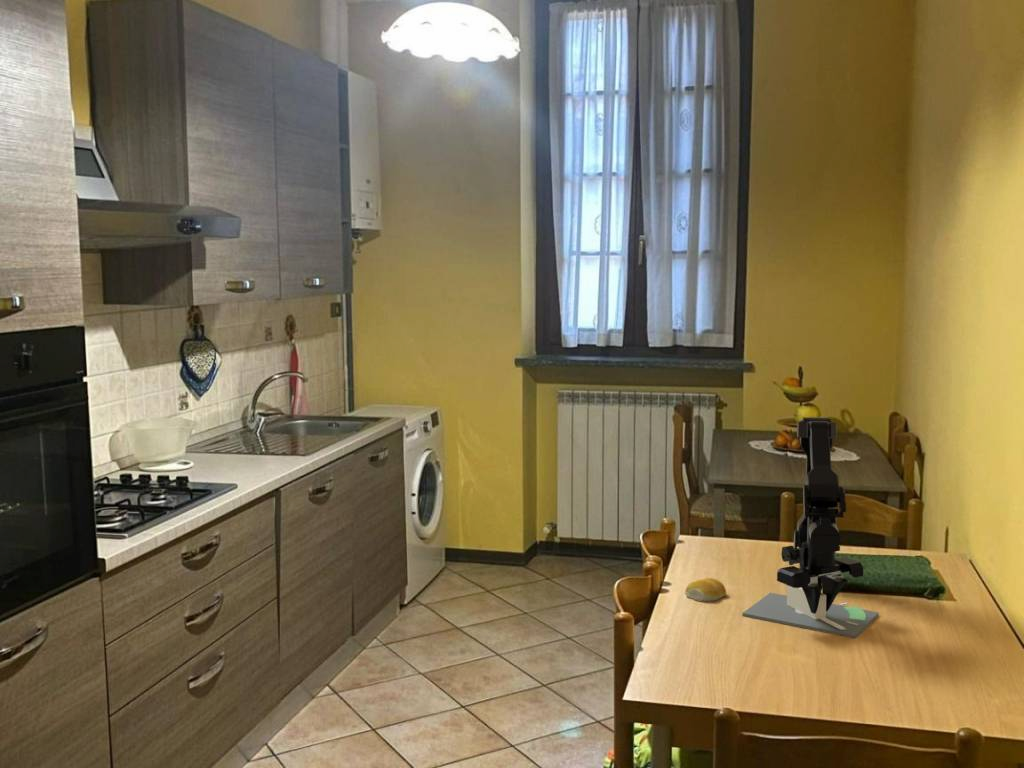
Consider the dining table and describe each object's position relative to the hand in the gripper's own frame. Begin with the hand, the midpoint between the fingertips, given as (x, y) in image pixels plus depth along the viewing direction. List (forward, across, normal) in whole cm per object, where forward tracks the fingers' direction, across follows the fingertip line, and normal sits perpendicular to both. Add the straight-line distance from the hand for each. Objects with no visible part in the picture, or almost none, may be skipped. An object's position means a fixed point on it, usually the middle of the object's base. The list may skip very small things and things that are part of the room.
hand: (819, 611), depth 212 cm
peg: (+1, 0, -1) cm, 2 cm away
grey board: (+2, -2, -4) cm, 5 cm away
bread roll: (+3, +11, -24) cm, 27 cm away
